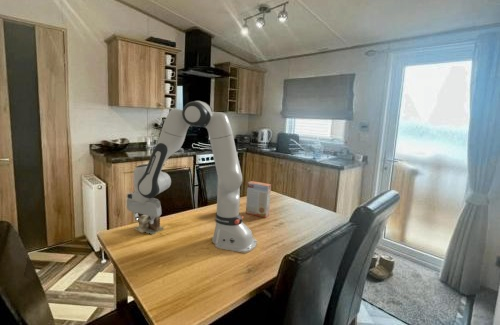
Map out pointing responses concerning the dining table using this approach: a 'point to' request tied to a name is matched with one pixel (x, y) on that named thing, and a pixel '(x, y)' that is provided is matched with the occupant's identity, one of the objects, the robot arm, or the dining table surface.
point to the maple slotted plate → (143, 223)
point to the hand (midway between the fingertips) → (144, 221)
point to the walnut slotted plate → (152, 225)
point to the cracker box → (258, 199)
